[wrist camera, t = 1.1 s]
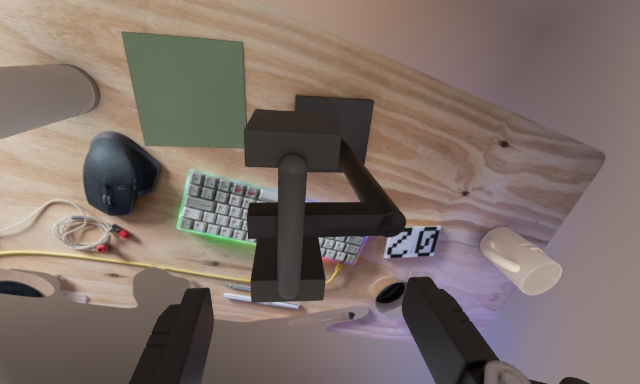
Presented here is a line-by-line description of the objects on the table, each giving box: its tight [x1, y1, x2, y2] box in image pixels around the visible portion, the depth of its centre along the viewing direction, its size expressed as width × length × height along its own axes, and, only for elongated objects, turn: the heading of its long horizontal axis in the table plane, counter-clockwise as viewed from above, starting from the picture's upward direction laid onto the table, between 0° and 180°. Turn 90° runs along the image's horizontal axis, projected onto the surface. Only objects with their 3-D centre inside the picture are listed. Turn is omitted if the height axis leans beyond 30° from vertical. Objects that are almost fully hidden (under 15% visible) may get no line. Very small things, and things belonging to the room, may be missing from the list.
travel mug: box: [0, 64, 99, 139], centre depth 29 cm, size 6×7×20 cm
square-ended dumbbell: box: [244, 109, 342, 303], centre depth 22 cm, size 14×6×8 cm, turn 176°
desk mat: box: [121, 32, 246, 148], centre depth 40 cm, size 15×15×1 cm
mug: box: [480, 227, 562, 295], centre depth 56 cm, size 8×12×12 cm
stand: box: [247, 95, 406, 239], centre depth 33 cm, size 12×17×27 cm
